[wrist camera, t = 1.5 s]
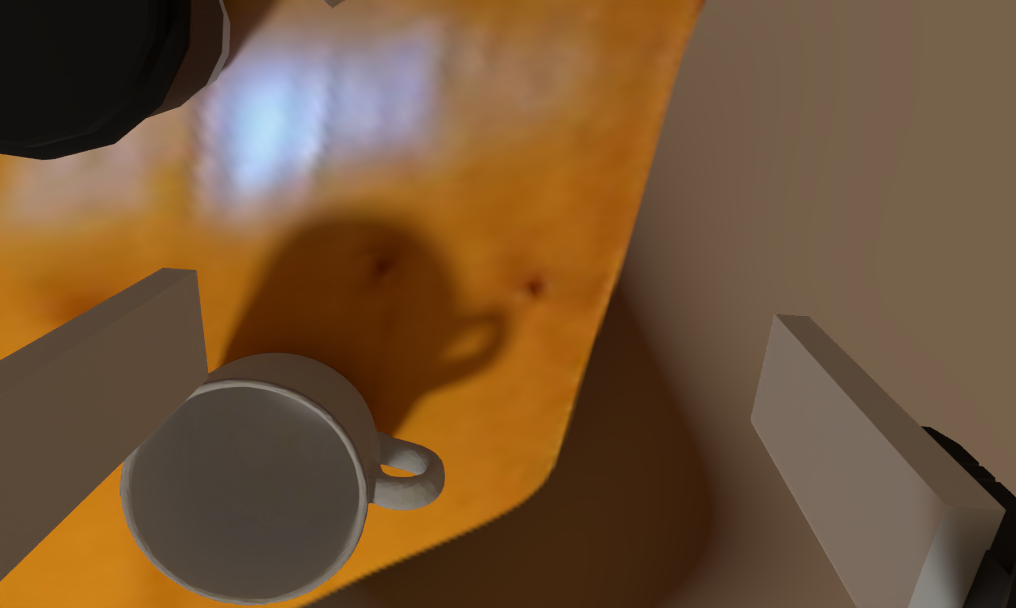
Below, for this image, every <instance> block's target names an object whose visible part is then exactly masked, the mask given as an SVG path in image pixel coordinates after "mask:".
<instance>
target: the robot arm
mask: <svg viewBox="0 0 1016 608" xmlns="http://www.w3.org/2000/svg"><path fill="white" fill-rule="evenodd" d="M208 378H209V376H208V367H207V358H206V350H205V341H204V332H203V324H202V315H201V306H200V297H199V289H198V280H197V271H196V270H185V269H172V268H162V269H160V270H159V271H157V272H155V273H153V274H152V275H150V276H148V277H146V278H145V279H143V280H141V281H139V282H138V283H136V284H134V285H132V286H130V287H129V288H127V289H125V290H123V291H122V292H120V293H118V294H116V295H115V296H113V297H111V298H109V299H108V300H106V301H104V302H102V303H101V304H99V305H97V306H95V307H94V308H92V309H90V310H88V311H86V312H85V313H83V314H81V315H79V316H78V317H76V318H74V319H72V320H71V321H69V322H67V323H65V324H64V325H62V326H60V327H58V328H57V329H55V330H53V331H51V332H49V333H48V334H46V335H44V336H42V337H41V338H39V339H37V340H35V341H34V342H32V343H30V344H28V345H27V346H25V347H23V348H21V349H20V350H18V351H16V352H14V353H13V354H11V355H9V356H7V357H5V358H4V359H2V360H0V581H1V580H2V579H3V578H4V577H5V576H6V575H7V574H8V573H9V572H10V571H11V570H12V569H13V568H14V567H15V566H17V565H18V564H19V563H20V562H21V561H22V560H23V559H24V558H25V557H26V556H27V555H28V554H29V553H30V552H31V551H32V550H33V549H34V548H35V547H36V546H37V545H38V544H39V543H40V542H41V541H42V540H43V539H44V538H45V537H46V536H47V535H48V534H49V533H50V532H51V531H52V530H53V529H54V528H55V527H56V526H57V525H59V524H60V523H61V522H62V521H63V520H64V519H65V518H66V517H67V516H68V515H69V514H70V513H71V512H72V511H73V510H74V509H75V508H76V507H77V506H78V505H79V504H80V503H81V502H82V501H83V500H84V499H85V498H86V497H87V496H88V495H89V494H90V493H91V492H92V491H93V490H94V489H95V488H96V487H97V486H98V485H99V484H101V483H102V482H103V481H104V480H105V479H106V478H107V477H108V476H109V475H110V474H111V473H112V472H113V471H114V470H115V469H116V468H117V467H118V466H119V465H120V464H121V463H122V462H123V461H124V460H125V459H126V458H127V457H128V456H129V455H130V454H131V453H132V452H133V451H134V450H135V449H136V448H137V447H138V446H139V445H140V444H141V443H143V442H144V441H145V440H146V439H147V438H148V437H149V436H150V435H151V434H152V433H153V432H154V431H155V430H156V429H157V428H158V427H159V426H160V425H161V424H162V423H163V422H164V421H165V420H166V419H167V418H168V417H169V416H170V415H171V414H172V413H173V412H174V411H175V410H176V409H177V408H178V407H179V406H180V405H181V404H182V403H183V402H185V401H186V400H187V399H188V398H189V397H190V396H191V395H192V394H193V393H194V392H195V391H196V390H197V389H198V388H199V387H200V386H201V385H202V384H203V383H204V382H205V381H206V380H207V379H208ZM751 422H752V424H753V426H754V428H755V430H756V431H757V433H758V435H759V437H760V438H761V440H762V442H763V444H764V445H765V447H766V449H767V450H768V452H769V454H770V456H771V458H772V459H773V461H774V463H775V465H776V466H777V468H778V470H779V472H780V473H781V475H782V477H783V478H784V481H785V482H786V484H787V486H788V487H789V489H790V491H791V493H792V495H793V496H794V498H795V500H796V502H797V503H798V505H799V507H800V509H801V510H802V512H803V514H804V516H805V517H806V519H807V521H808V523H809V524H810V526H811V528H812V530H813V531H814V533H815V535H816V536H817V538H818V540H819V542H820V543H821V545H822V547H823V549H824V551H825V552H826V554H827V556H828V557H829V559H830V561H831V563H832V565H833V567H834V568H835V570H836V572H837V574H838V575H839V577H840V579H841V581H842V582H843V584H844V586H845V588H846V589H847V591H848V593H849V595H850V596H851V598H852V600H853V601H854V603H855V605H856V607H857V608H1016V497H1015V496H1014V495H1013V494H1012V493H1011V492H1010V491H1009V490H1008V489H1006V488H1005V487H1004V486H1003V485H1002V484H1001V483H1000V482H996V481H995V477H993V475H991V473H989V472H988V471H987V470H986V469H985V468H984V467H983V466H979V462H978V461H977V460H975V459H974V458H973V457H972V456H971V455H970V454H969V453H968V452H967V451H966V450H965V449H963V447H962V446H961V445H959V444H958V443H956V442H955V441H953V440H951V439H949V438H948V437H946V436H944V435H943V434H941V433H939V432H938V431H936V430H934V429H932V428H931V427H923V426H920V425H919V424H918V423H916V421H915V420H914V419H913V418H912V417H911V416H910V415H909V414H908V413H907V412H906V411H904V409H903V408H902V407H900V406H899V405H898V404H897V403H896V402H895V401H894V400H893V399H892V398H891V397H890V396H889V395H888V394H887V393H886V392H885V391H884V390H883V389H882V388H881V387H880V386H879V385H878V384H877V383H876V382H875V381H874V380H873V379H872V378H871V377H870V376H869V375H868V374H867V373H866V372H865V371H864V370H863V369H862V368H861V367H860V366H859V365H858V364H857V363H856V362H855V361H854V360H853V359H852V358H850V356H849V355H848V354H846V352H845V351H843V350H842V349H841V348H840V347H839V346H838V345H837V344H836V343H835V342H834V341H833V340H832V339H831V338H830V337H829V336H828V335H827V334H826V333H825V332H824V331H823V330H822V329H821V328H820V327H819V326H818V325H817V324H816V323H815V322H814V321H813V320H812V319H811V318H810V317H807V316H794V315H781V314H775V315H774V319H773V323H772V328H771V332H770V337H769V341H768V345H767V350H766V354H765V359H764V363H763V367H762V372H761V376H760V381H759V385H758V389H757V394H756V398H755V403H754V407H753V411H752V416H751Z"/></svg>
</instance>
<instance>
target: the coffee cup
mask: <svg viewBox="0 0 1016 608" xmlns="http://www.w3.org/2000/svg"><path fill="white" fill-rule="evenodd" d="M229 43H230V21H229V18H228V15H227V12H226V9H225V6H224V3H223V0H0V154H6V155H12V156H19V157H26V158H33V159H40V160H50V159H56V158H60V157H64V156H68V155H72V154H76V153H80V152H84V151H88V150H92V149H96V148H100V147H104V146H108V145H112V144H115V143H116V142H118V141H119V140H120V139H121V138H122V137H124V136H125V135H126V134H127V133H128V132H130V131H131V130H132V129H133V128H135V127H136V126H137V125H138V124H139V123H141V122H142V121H143V120H144V119H146V118H148V117H151V116H154V115H157V114H160V113H163V112H166V111H168V110H171V109H174V108H177V107H180V106H181V105H183V104H184V103H185V102H186V101H187V100H189V99H190V98H194V97H196V96H197V95H198V94H199V93H201V92H202V91H203V90H204V89H206V88H207V87H208V86H209V85H211V84H212V83H213V82H214V81H215V80H217V78H218V76H219V74H220V72H221V69H222V67H223V65H224V63H225V61H226V59H227V57H228V55H229Z"/></svg>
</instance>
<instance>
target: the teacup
mask: <svg viewBox="0 0 1016 608" xmlns="http://www.w3.org/2000/svg"><path fill="white" fill-rule="evenodd" d="M208 376H209V378H208V379H207V380H206V381H205V382H204V383H203V384H202V385H201V386H200V387H199V388H198V389H197V390H196V391H195V392H194V393H193V394H192V395H191V396H190V397H189V398H188V399H187V400H186V401H185V402H183V403H182V404H181V405H180V406H179V407H178V408H177V409H176V410H175V411H174V412H173V413H172V414H171V415H170V416H169V417H168V418H167V419H166V420H165V421H164V422H163V423H162V424H161V425H160V426H159V427H158V428H157V429H156V430H155V431H154V432H153V433H152V434H151V435H150V436H149V437H148V438H147V439H146V440H145V441H144V442H143V443H141V444H140V445H139V446H138V447H137V448H136V449H135V450H134V451H133V452H132V453H131V454H130V455H129V456H128V457H127V458H126V459H125V460H124V463H123V468H122V475H121V485H120V496H121V499H122V506H123V511H124V515H125V518H126V522H127V525H128V527H129V529H130V531H131V533H132V535H133V537H134V539H135V541H136V543H137V545H138V547H139V548H140V549H141V550H142V552H143V553H144V554H145V555H146V557H147V558H148V559H149V560H150V561H151V563H152V564H153V565H155V566H156V567H157V568H158V570H160V571H161V572H162V573H164V574H165V575H166V576H167V577H168V578H170V579H171V580H173V581H175V582H176V583H178V584H179V585H181V586H182V587H184V588H186V589H187V590H189V591H193V592H195V593H196V594H199V595H201V596H203V597H207V598H210V599H213V600H215V601H220V602H224V603H232V604H238V605H256V604H257V605H266V604H268V603H276V602H280V601H287V600H289V599H292V598H296V597H298V596H301V595H304V594H306V593H308V592H310V591H312V590H314V589H315V588H317V587H318V586H320V585H321V584H323V583H324V582H325V581H327V580H329V579H330V578H331V577H332V576H333V575H334V574H335V573H337V572H338V571H339V570H340V569H341V568H342V566H343V565H344V563H345V562H346V561H347V560H348V559H349V558H350V556H351V554H352V553H353V551H354V550H355V548H356V546H357V544H358V542H359V539H360V537H361V534H362V532H363V528H364V524H365V520H366V516H367V511H368V504H369V503H374V504H377V505H379V506H382V507H384V508H389V509H394V510H411V509H417V508H421V507H423V506H426V505H428V504H430V503H431V502H433V501H434V500H435V499H437V497H438V496H439V495H440V493H441V492H442V489H443V487H444V481H445V473H444V466H443V463H442V460H441V459H440V458H439V457H438V455H437V454H436V453H434V452H433V451H431V450H429V449H427V448H425V447H423V446H421V445H418V444H415V443H412V442H408V441H404V440H400V439H396V438H392V437H391V436H390V435H388V434H387V433H384V432H378V431H377V430H376V426H375V423H374V420H373V417H372V414H371V412H370V410H369V408H368V406H367V404H366V402H365V400H364V398H363V397H362V396H361V394H360V393H359V391H358V390H357V389H356V388H355V387H354V386H353V385H352V384H351V383H350V382H349V381H348V380H347V379H346V378H345V377H344V376H342V375H341V374H340V373H338V372H337V371H336V370H334V369H332V368H331V367H329V366H327V365H325V364H323V363H321V362H319V361H317V360H314V359H312V358H308V357H305V356H301V355H296V354H289V353H261V354H256V355H251V356H246V357H243V358H240V359H237V360H235V361H232V362H230V363H228V364H225V365H223V366H221V367H219V368H218V369H216V370H214V371H212V372H211V373H209V374H208ZM381 464H383V465H387V466H391V467H395V468H399V469H403V470H407V471H409V472H412V473H415V474H417V475H416V476H412V477H394V476H389V475H387V474H385V473H384V472H383V471H382V469H381V466H380V465H381Z"/></svg>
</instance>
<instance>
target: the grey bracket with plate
mask: <svg viewBox="0 0 1016 608" xmlns="http://www.w3.org/2000/svg"><path fill="white" fill-rule="evenodd" d="M324 1H325V2H326V3H327V4H328V5H330V6H331V7H332V8H334V7H335V6H337V5H338V4H340V3H341V2H343V1H344V0H324Z"/></svg>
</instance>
